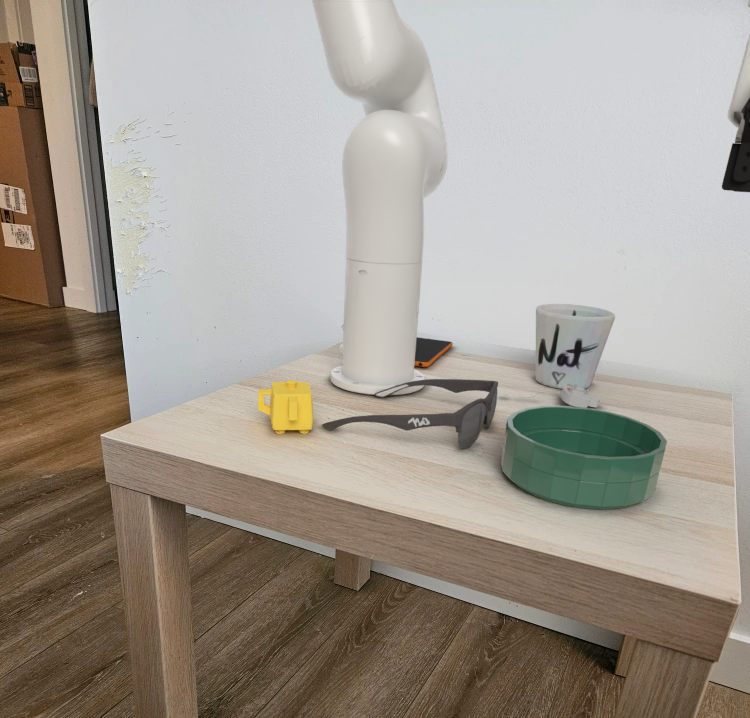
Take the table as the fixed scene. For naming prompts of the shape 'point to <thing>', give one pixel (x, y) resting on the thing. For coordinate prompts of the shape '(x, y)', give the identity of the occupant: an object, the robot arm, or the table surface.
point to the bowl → (582, 456)
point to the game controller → (577, 396)
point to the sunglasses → (463, 419)
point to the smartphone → (429, 350)
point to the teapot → (288, 406)
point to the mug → (570, 343)
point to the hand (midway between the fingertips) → (743, 191)
